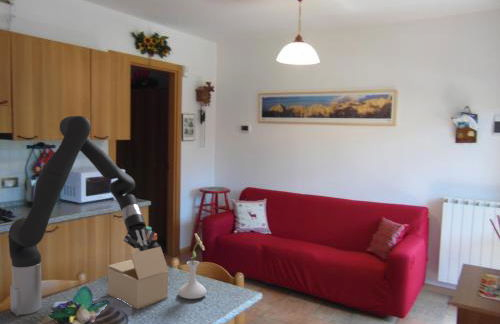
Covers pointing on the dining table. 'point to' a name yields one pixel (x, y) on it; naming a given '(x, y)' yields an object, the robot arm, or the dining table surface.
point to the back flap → (123, 266)
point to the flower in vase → (193, 279)
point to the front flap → (149, 262)
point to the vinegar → (152, 242)
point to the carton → (137, 287)
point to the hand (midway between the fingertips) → (146, 255)
